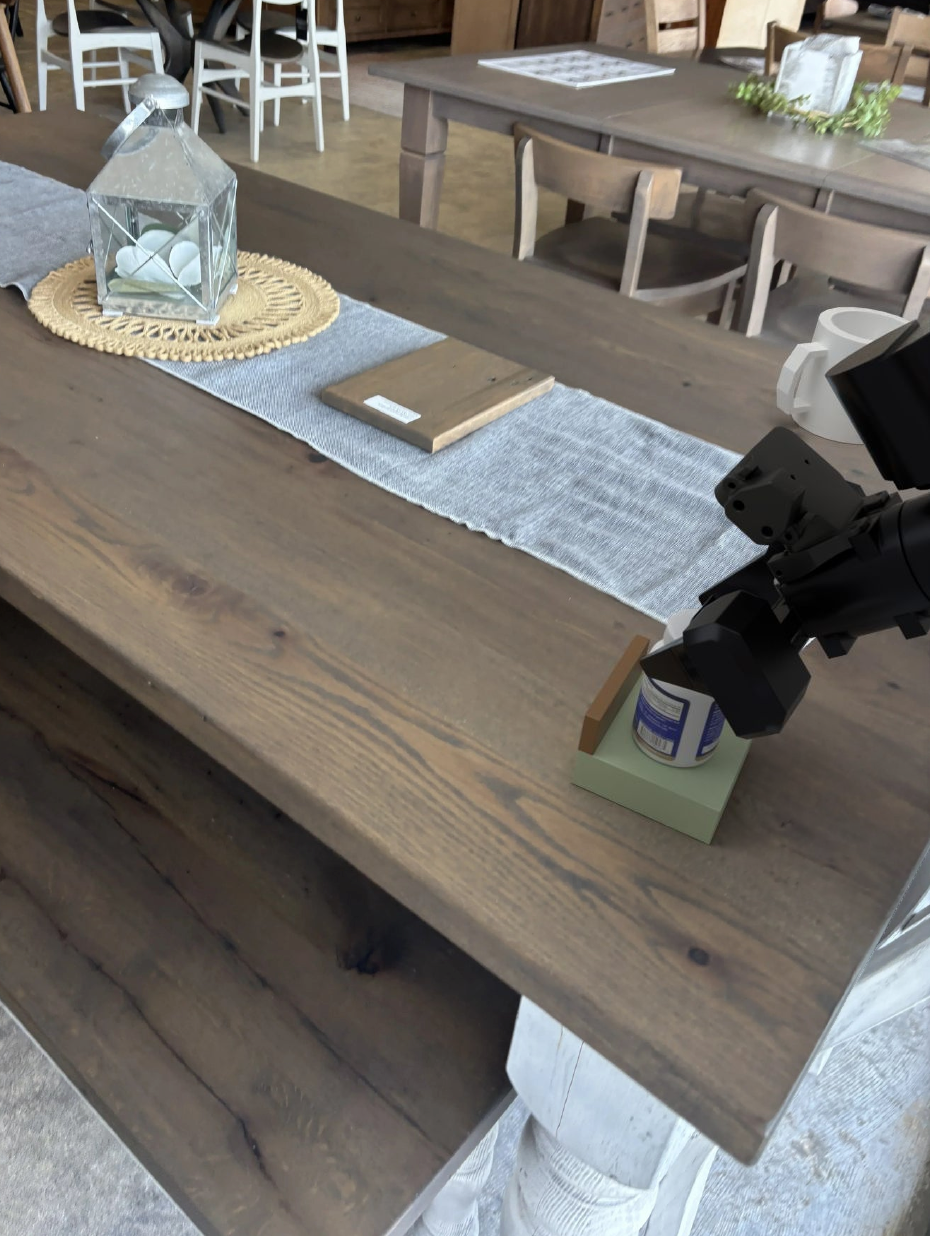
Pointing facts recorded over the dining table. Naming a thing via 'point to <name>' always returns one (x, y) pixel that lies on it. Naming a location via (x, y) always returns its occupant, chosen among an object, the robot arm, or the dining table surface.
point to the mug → (829, 346)
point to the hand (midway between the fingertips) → (674, 633)
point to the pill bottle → (676, 713)
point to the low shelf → (651, 760)
